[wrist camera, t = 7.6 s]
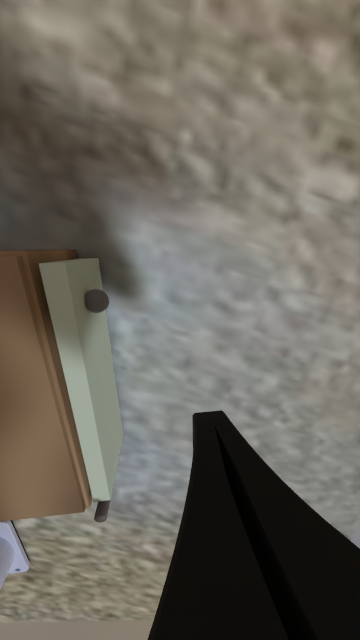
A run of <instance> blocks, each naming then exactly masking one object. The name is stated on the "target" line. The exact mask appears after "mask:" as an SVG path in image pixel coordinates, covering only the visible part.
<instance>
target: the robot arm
mask: <svg viewBox="0 0 360 640" xmlns="http://www.w3.org/2000/svg"><path fill="white" fill-rule="evenodd" d="M29 566H30V563H29V560H28V558H27V556H26V554H25V551H24V549H23V547H22V545H21V543H20V540H19V538H18V536H17V534H16V531H15V529H14V527H13V525H12V523H11V520H9V521H0V589H1V587H2V585H3V582H4V580H5V578H6V576H7V574H11V573H19V572H25V571H27V570H28V569H29ZM148 640H360V549H359V548H358V547H357V546H356V545H354V544H353V543H352V542H351V541H350V540H349V539H347V538H346V537H345V536H344V535H342V534H341V533H340V532H339V531H338V530H336V529H335V528H334V527H333V526H332V525H330V524H329V523H328V522H327V521H326V520H324V519H323V518H322V517H321V516H320V515H319V514H318V513H317V512H315V511H314V510H313V509H312V508H311V507H310V506H309V505H308V504H307V503H305V502H304V501H303V500H302V499H301V498H300V497H299V496H298V495H297V494H296V493H295V492H294V491H293V490H292V489H291V488H290V487H289V486H288V485H286V484H285V483H284V482H283V481H282V480H281V479H280V477H279V476H278V475H277V474H276V473H275V472H274V471H273V470H272V469H271V468H270V467H269V466H268V465H267V464H266V463H265V462H264V461H263V460H262V458H261V457H260V456H259V455H258V454H257V453H256V452H255V450H254V449H253V448H252V447H251V446H250V445H249V444H248V442H247V441H246V440H245V439H244V438H243V436H242V435H241V434H240V433H239V431H238V430H237V429H236V428H235V426H234V425H233V424H232V422H231V421H230V420H229V418H228V417H227V416H226V414H225V413H224V412H223V411H212V412H201V413H195V414H194V415H193V461H192V468H191V474H190V481H189V487H188V492H187V497H186V502H185V507H184V512H183V516H182V520H181V525H180V529H179V533H178V537H177V541H176V545H175V549H174V553H173V556H172V560H171V564H170V567H169V571H168V574H167V578H166V581H165V585H164V588H163V592H162V595H161V599H160V602H159V605H158V609H157V612H156V615H155V618H154V622H153V625H152V628H151V631H150V634H149V637H148Z"/></svg>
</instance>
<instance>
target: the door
mask: <svg viewBox="0 0 360 640" xmlns="http://www.w3.org/2000/svg"><path fill="white" fill-rule="evenodd" d="M39 268H40V272H41V276H42V281H43V285H44V289H45V294H46V298H47V302H48V307H49V311H50V315H51V320H52V324H53V329H54V333H55V337H56V342H57V346H58V350H59V355H60V359H61V363H62V368H63V372H64V376H65V381H66V385H67V389H68V394H69V398H70V402H71V407H72V411H73V415H74V420H75V424H76V428H77V433H78V437H79V441H80V446H81V450H82V454H83V459H84V463H85V467H86V472H87V476H88V480H89V485H90V489H91V493H92V498H93V502H98V501H107V500H110V499H111V494H112V489H113V485H114V480H115V475H116V470H117V465H118V460H119V455H120V450H121V445H122V440H123V431H122V423H121V416H120V409H119V402H118V395H117V388H116V381H115V374H114V366H113V359H112V352H111V345H110V338H109V331H108V324H107V317H106V308H107V307H108V304H109V299H108V296H107V295H106V293H105V292H103V288H102V281H101V274H100V267H99V260H98V258H83V259H73V260H64V261H55V262H47V263H39Z"/></svg>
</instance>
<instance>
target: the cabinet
mask: <svg viewBox="0 0 360 640" xmlns="http://www.w3.org/2000/svg"><path fill="white" fill-rule="evenodd" d="M73 259H77V254H76V250H17V251H0V521H9V520H18V519H27V518H36V517H45V516H53V515H62V514H71V513H80V512H84V511H85V508H90V505H91V502H92V493H91V489H90V485H89V480H88V476H87V472H86V467H85V463H84V459H83V454H82V450H81V446H80V441H79V437H78V433H77V428H76V424H75V420H74V415H73V411H72V407H71V402H70V398H69V394H68V389H67V385H66V381H65V376H64V372H63V368H62V363H61V359H60V355H59V350H58V346H57V342H56V337H55V333H54V329H53V324H52V320H51V315H50V311H49V307H48V302H47V298H46V294H45V289H44V285H43V281H42V276H41V272H40V268H39V263H47V262H55V261H64V260H73ZM109 504H110V500H107V501H98V505H97V509H96V513H95V517H94V520H95V521H97V522H104V521H105V520H106V518H107V513H108V509H109Z"/></svg>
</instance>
